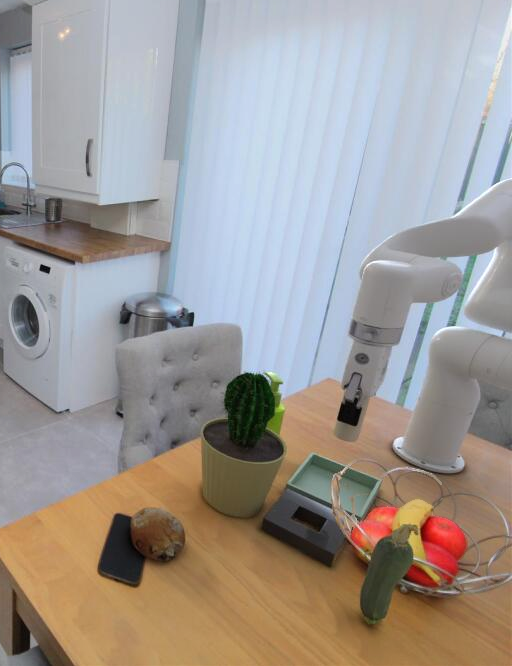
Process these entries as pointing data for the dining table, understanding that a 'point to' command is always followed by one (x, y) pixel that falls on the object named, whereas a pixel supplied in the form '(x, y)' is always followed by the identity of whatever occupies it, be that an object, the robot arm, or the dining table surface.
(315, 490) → the green tray
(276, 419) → the soap dispenser
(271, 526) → the block
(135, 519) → the bread roll
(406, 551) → the vegetable
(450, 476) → the dining table surface
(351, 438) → the plug
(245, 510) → the potted cactus
